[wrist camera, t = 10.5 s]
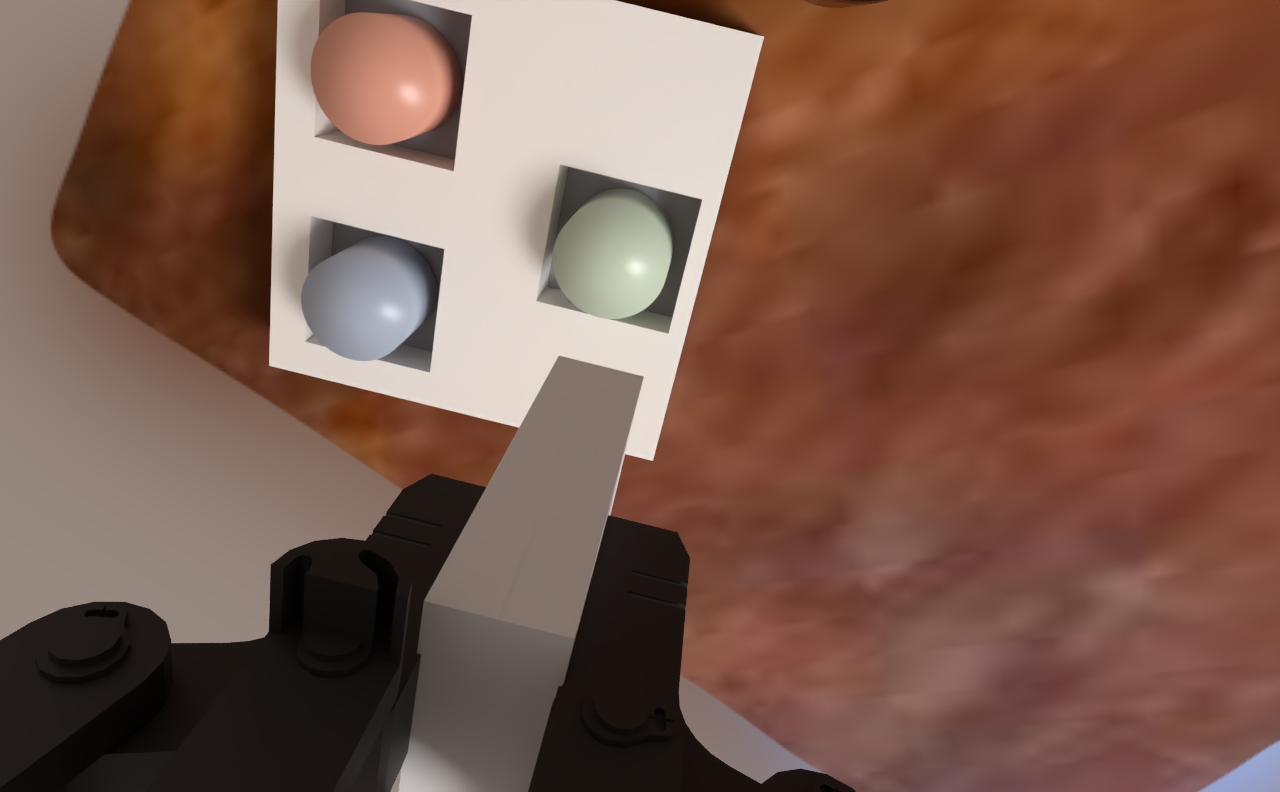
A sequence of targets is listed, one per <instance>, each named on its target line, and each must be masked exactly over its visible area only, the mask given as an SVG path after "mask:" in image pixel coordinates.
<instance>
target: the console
mask: <svg viewBox="0 0 1280 792" xmlns="http://www.w3.org/2000/svg"><path fill="white" fill-rule="evenodd" d="M358 12H364V13H381V14H396V15H408V16H413V17H416V18H419V19H421V20H424V21H426V22H427V23H429V24H431V25H432V26H434V27H435V28H436V29H437V30H438V31H439V32H440V33H441V34H442V35H443V36H444V37H445V38H446V39H447V41H448V42H449V44H450V45H451V47H452V49H453V50H454V52H455V55H456V57H457V60H458V63H459V66H460V72H461V92H460V98H459V101H458V104H457V106H456V108H455V110H454V112H453V113H452V115H451V117H450V118H449V119H448V120H447V121H446V122H445V123H444V124H443V125H441V126H440V127H438V128H437V129H435V130H433V131H431V132H428V133H425V134H422V135H418V136H415V137H412V138H409V139H406V140H402V141H399V142H396V143H392V144H388V145H371V144H366V143H363V142H359V141H357V140H355V139H353V138H351V137H349V136H347V135H346V134H344V133H343V132H342V131H340V130H339V129H338V128H337V127H336V126H335V125H334V124H333V123H332V122H331V121H330V120H329V119H328V117H327V116H326V115H325V113H324V112H323V110H322V109H321V107H320V105H319V103H318V101H317V99H316V96H315V93H314V90H313V86H312V81H311V57H312V53H313V49H314V46H315V44H316V41H317V40H318V38H319V36H320V34H321V33H322V32H323V30H324V29H325V28H326V27H327V26H328V25H329V24H330V23H332V22H333V21H335V20H336V19H338V18H340V17H342V16H344V15H347V14H351V13H358ZM763 39H764V37H763V36H759V35H755V34H751V33H747V32H743V31H739V30H735V29H730V28H726V27H722V26H718V25H714V24H710V23H706V22H702V21H698V20H694V19H690V18H685V17H681V16H677V15H673V14H669V13H665V12H661V11H657V10H653V9H649V8H645V7H641V6H636V5H632V4H628V3H624V2H620V1H616V0H278V12H277V55H276V97H275V140H274V183H273V226H272V269H271V311H270V354H269V366H273V367H277V368H281V369H285V370H289V371H293V372H297V373H301V374H305V375H309V376H313V377H317V378H321V379H325V380H329V381H333V382H338V383H342V384H346V385H350V386H354V387H358V388H362V389H366V390H370V391H374V392H378V393H382V394H386V395H390V396H394V397H398V398H402V399H406V400H410V401H414V402H418V403H422V404H426V405H430V406H434V407H438V408H442V409H446V410H450V411H454V412H458V413H462V414H466V415H470V416H474V417H478V418H483V419H487V420H491V421H495V422H499V423H503V424H507V425H511V426H515V427H520V425H521V423H522V422H523V420H524V418H525V416H526V414H527V413H528V411H529V409H530V407H531V405H532V403H533V402H534V400H535V398H536V396H537V394H538V393H539V391H540V389H541V387H542V385H543V383H544V382H545V380H546V378H547V376H548V374H549V373H550V371H551V369H552V367H553V365H554V363H555V362H556V360H557V358H558V356H563V357H567V358H571V359H575V360H579V361H583V362H587V363H591V364H595V365H599V366H603V367H608V368H612V369H616V370H620V371H624V372H628V373H632V374H636V375H640V376H644V378H643V382H642V387H641V391H640V395H639V399H638V403H637V407H636V411H635V415H634V419H633V423H632V428H631V432H630V436H629V440H628V444H627V448H626V452H625V454H628V455H632V456H636V457H640V458H644V459H648V460H652V461H653V458H654V454H655V450H656V447H657V443H658V439H659V435H660V431H661V428H662V424H663V420H664V416H665V412H666V409H667V405H668V401H669V397H670V393H671V389H672V386H673V382H674V378H675V374H676V370H677V367H678V363H679V359H680V355H681V351H682V348H683V344H684V340H685V336H686V332H687V329H688V325H689V321H690V317H691V313H692V309H693V306H694V302H695V298H696V294H697V290H698V287H699V283H700V279H701V275H702V271H703V268H704V264H705V260H706V256H707V252H708V248H709V245H710V241H711V237H712V233H713V229H714V226H715V222H716V218H717V214H718V210H719V207H720V203H721V199H722V195H723V191H724V188H725V184H726V180H727V176H728V172H729V168H730V165H731V161H732V157H733V153H734V149H735V146H736V142H737V138H738V134H739V130H740V127H741V123H742V119H743V115H744V111H745V108H746V104H747V100H748V96H749V92H750V88H751V85H752V81H753V77H754V73H755V69H756V66H757V62H758V58H759V54H760V50H761V47H762V43H763ZM618 188H621V189H630V190H635V191H638V192H641V193H643V194H645V195H647V196H648V197H650V198H651V199H653V200H654V201H655V202H656V203H657V204H658V205H659V206H660V207H661V208H662V209H663V210H664V212H665V213H666V215H667V217H668V219H669V221H670V223H671V226H672V229H673V234H674V251H673V256H672V259H671V263H670V266H669V270H668V273H667V277H666V280H665V283H664V286H663V288H662V290H661V292H660V294H659V295H658V297H657V298H656V299H655V300H654V301H653V303H652V304H650V305H649V306H648V307H647V308H646V309H644V310H643V311H641V312H639V313H637V314H635V315H632V316H629V317H626V318H621V319H605V318H599V317H596V316H593V315H590V314H588V313H586V312H584V311H582V310H581V309H579V308H577V307H576V306H575V305H574V304H572V303H571V302H570V300H569V299H568V298H567V297H566V296H565V295H564V293H563V292H562V290H561V289H560V287H559V285H558V283H557V280H556V277H555V274H554V269H553V249H554V245H555V242H556V239H557V237H558V235H559V233H560V231H561V229H562V228H563V227H564V225H565V224H566V223H567V222H568V221H569V220H570V218H571V217H572V216H573V215H574V214H575V213H576V212H577V211H578V210H579V208H580V207H581V206H582V205H583V204H584V203H585V202H586V201H587V200H589V199H590V198H591V197H593V196H594V195H596V194H598V193H600V192H603V191H606V190H610V189H618ZM373 236H388V237H393V238H396V239H399V240H402V241H404V242H406V243H407V244H409V245H411V246H412V247H413V248H415V249H416V250H417V251H418V252H419V253H420V254H421V255H422V256H423V257H424V258H425V259H426V261H427V262H428V264H429V265H430V267H431V269H432V271H433V274H434V277H435V280H436V285H437V299H436V304H435V307H434V309H433V311H432V313H431V315H430V316H429V318H428V319H427V320H426V321H425V322H424V323H423V324H422V325H421V326H420V327H419V328H417V329H416V330H415V331H414V332H413V333H412V334H411V335H410V336H409V337H408V338H407V339H406V340H404V341H403V342H402V343H401V344H400V345H399V346H398V347H397V348H396V349H395V350H394V351H392V352H391V353H390V354H388V355H386V356H384V357H382V358H380V359H376V360H372V361H356V360H351V359H348V358H344V357H342V356H340V355H337V354H336V353H334V352H332V351H331V350H329V349H328V348H327V347H325V346H324V345H323V344H322V343H321V342H320V341H319V340H318V339H317V338H316V337H315V336H314V334H313V333H312V331H311V330H310V328H309V326H308V325H307V322H306V320H305V318H304V314H303V311H302V305H301V294H302V288H303V284H304V282H305V279H306V277H307V276H308V274H309V273H310V272H311V270H312V269H313V268H314V267H316V266H317V265H318V264H319V263H321V262H323V261H325V260H326V259H328V258H330V257H332V256H334V255H336V254H337V253H339V252H341V251H343V250H345V249H347V248H348V247H350V246H352V245H354V244H356V243H357V242H359V241H361V240H363V239H366V238H369V237H373Z"/></svg>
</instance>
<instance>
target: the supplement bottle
mask: <svg viewBox="0 0 1280 792" xmlns="http://www.w3.org/2000/svg"><path fill="white" fill-rule="evenodd" d="M804 1H806V2H809V3H812V4H815V5H818V6H823V7H834V8H839V7H851V6H858V5H865V4H872V3H878V2H883V1H887V0H804Z"/></svg>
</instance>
